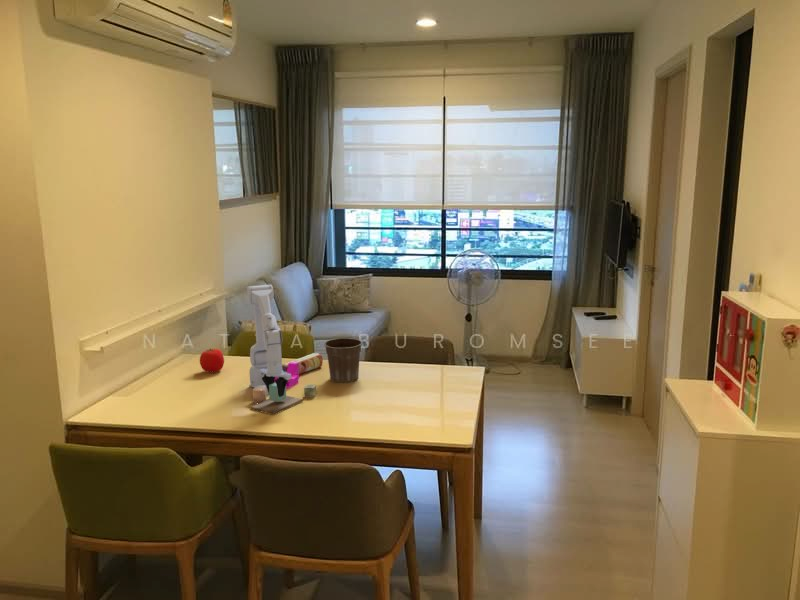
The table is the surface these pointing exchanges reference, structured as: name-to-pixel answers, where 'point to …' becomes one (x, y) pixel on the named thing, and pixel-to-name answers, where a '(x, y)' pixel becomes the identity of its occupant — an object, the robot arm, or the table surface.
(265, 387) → the grey cube
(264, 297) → the robot arm
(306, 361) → the snack package
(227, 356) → the table surface
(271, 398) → the teal block
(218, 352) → the tomato
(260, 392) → the peach rounded piece
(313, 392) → the olive block
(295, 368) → the toy block
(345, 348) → the plant pot
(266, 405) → the board
